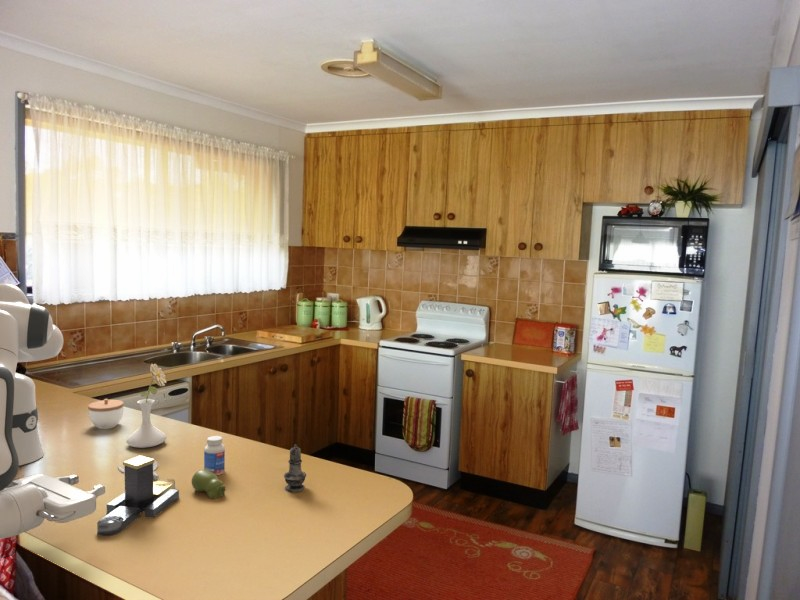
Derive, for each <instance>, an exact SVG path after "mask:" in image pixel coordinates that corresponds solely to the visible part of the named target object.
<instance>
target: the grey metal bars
mask: <svg viewBox="0 0 800 600" xmlns="http://www.w3.org/2000/svg"><path fill="white" fill-rule="evenodd" d="M179 498H180V489H176V488H175V489H170V490H169V491H168V492H166V493H165V494H164V495H162V496H161V497H160V498H158V499H157V500H156V501H154V502H153V503H152V504H150V505H149V506H148V507H146V508H145V511H144V517H145V518H149V517H153V519H155V516H156V515H157V516H158V515H160V512H161V511H162V512H163V511H164V510H166V509H167V508H168V507H169V506H171V505H172V504H173V503H174V502H175V501H176V500H178V499H179ZM162 512H161V513H162ZM157 516H156V517H157ZM137 518H138V519H139V518H141V513H140V508H134V507H125V492H122V494H120V495H118V496H117V497H115V498H114V499H112V500H111V501H110V502H108V503H107V504H106V515H105V516H104V517H102V518H100V519H99V520H98V521H97V523H96V524H97V526H96V527H97V534H98V535H99V536H103V537H105V536H114V535H117V534H119V533H121V532H122V531H124V530H125V529H126V528H127V527H129V526H130V525H131V524H133V523H134V522H135V521H137V520H138V519H137Z"/></svg>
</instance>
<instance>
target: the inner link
mask: <svg viewBox="0 0 800 600" xmlns="http://www.w3.org/2000/svg"><path fill="white" fill-rule="evenodd" d="M170 489H175V490H176V480H175V479H174V478H171V477H164V478H159V480H155V481H153V499H154V501H156V500H157V499H158V498H160V497H161V496H162V495H164V494H165V493H166V492H168V491H169V490H170Z"/></svg>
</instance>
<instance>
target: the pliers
mask: <svg viewBox="0 0 800 600" xmlns="http://www.w3.org/2000/svg"><path fill="white" fill-rule="evenodd" d="M157 466H158V461H156V459H154V463H153V478H154V479H153V480H155V479H156V480H155V481H157V480H158V479H160V475H159V473H156V470H157V469H158V467H159V466H158V467H157ZM117 469H118V471H119V470H120V471H121V472H120V471H119V472H120V473H122V472H123V474H124V473H125V468H124V467H121V465H120V466H119V465H118V466H117ZM154 470H155V471H154Z"/></svg>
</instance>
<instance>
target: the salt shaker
mask: <svg viewBox="0 0 800 600" xmlns="http://www.w3.org/2000/svg"><path fill="white" fill-rule="evenodd" d="M301 458H302V450H301V448H300V447H298V446H297V444H296V443H295V444H294V445H293V447H291V448H290V450H289V460H288V461H287V462H288V463H289V465H288V467H289V468H288V471H287V472H285V473H284V474H283V478H284V481H285V482H286V486H285V487H284V490H285V491H286V492H287V493H293V494H295V493H301V492H303V491H305V489H306V486H305V485H304V484H303V483H304V482H305V481H306V478H307V473H306V472H304V471H303V470H302V462H303V460H302V459H301Z"/></svg>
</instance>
